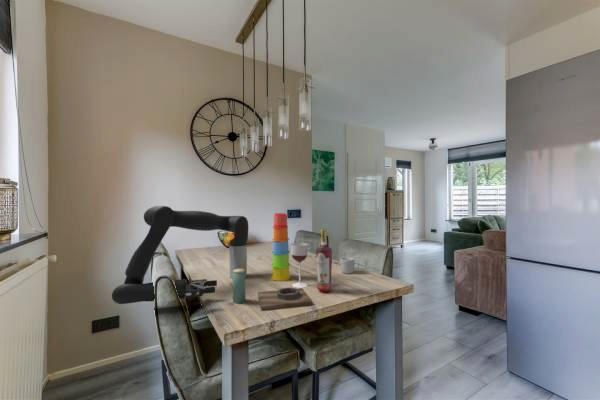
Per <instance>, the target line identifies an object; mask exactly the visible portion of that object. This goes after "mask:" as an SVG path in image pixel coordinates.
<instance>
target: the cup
mask: <svg viewBox="0 0 600 400" xmlns="http://www.w3.org/2000/svg"><path fill="white" fill-rule="evenodd" d="M339 261H340V269H341V273H343V274H346V275H347V274H348V275H350V274H352V273H354V271H358V270H359V268H360V264H359V262H358V261H355V258H354V257H348V256H342V257H340V258H339ZM355 264H356V267H355Z"/></svg>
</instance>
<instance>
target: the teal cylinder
mask: <svg viewBox="0 0 600 400" xmlns="http://www.w3.org/2000/svg"><path fill="white" fill-rule="evenodd" d="M245 302H246V277H245V270H244V269H235V270H233V279H232V303H234V304H242V303H245Z"/></svg>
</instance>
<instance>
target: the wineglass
mask: <svg viewBox="0 0 600 400" xmlns="http://www.w3.org/2000/svg"><path fill="white" fill-rule="evenodd" d="M308 250H309V244H308V243H307V242H293V243H290V251H291V252H290V253H291V256H292V259H293V260H295V261H296V262H298V282H296V283H295V282H294V283H292V285H291V286H292V288H296V289H299V288H303V289H304V288H306V287H308V283H305V282H302V281H301V263H302V262H304V261H305V260H306V259H307V256H308Z"/></svg>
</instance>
